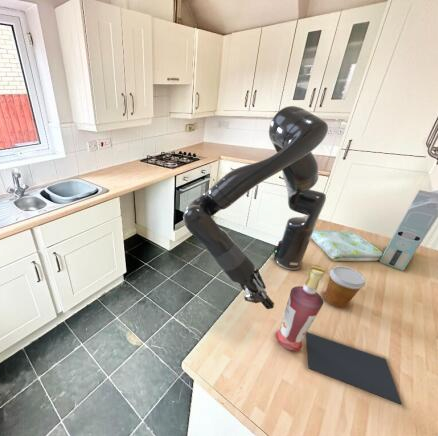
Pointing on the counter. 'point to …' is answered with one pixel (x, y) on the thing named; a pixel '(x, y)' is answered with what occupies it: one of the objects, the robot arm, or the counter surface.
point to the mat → (351, 366)
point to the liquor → (300, 311)
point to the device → (411, 230)
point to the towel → (346, 246)
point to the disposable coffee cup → (343, 285)
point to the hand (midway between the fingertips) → (270, 306)
